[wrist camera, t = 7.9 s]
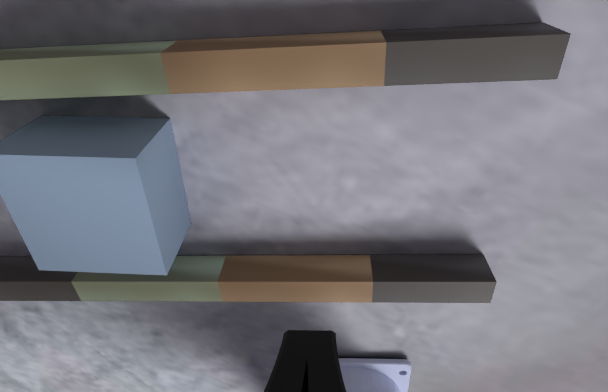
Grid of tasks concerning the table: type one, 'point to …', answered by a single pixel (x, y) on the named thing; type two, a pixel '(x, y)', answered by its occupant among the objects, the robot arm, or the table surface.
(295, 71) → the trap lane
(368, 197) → the table surface
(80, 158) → the slate block
